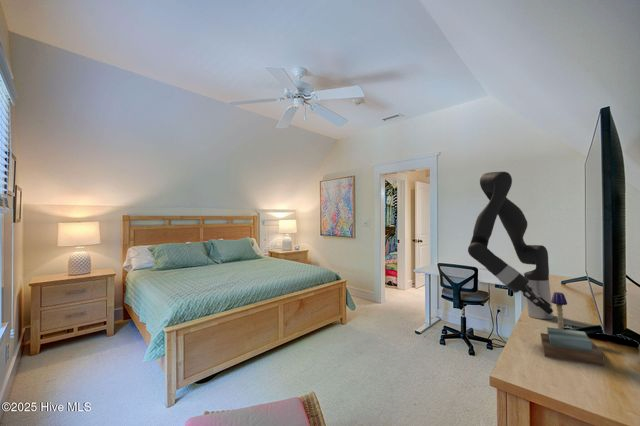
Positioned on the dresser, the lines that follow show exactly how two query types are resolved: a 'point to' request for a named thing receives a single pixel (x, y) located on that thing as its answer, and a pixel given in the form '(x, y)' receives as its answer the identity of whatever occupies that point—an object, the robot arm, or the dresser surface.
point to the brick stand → (571, 346)
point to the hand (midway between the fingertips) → (550, 309)
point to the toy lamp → (559, 307)
